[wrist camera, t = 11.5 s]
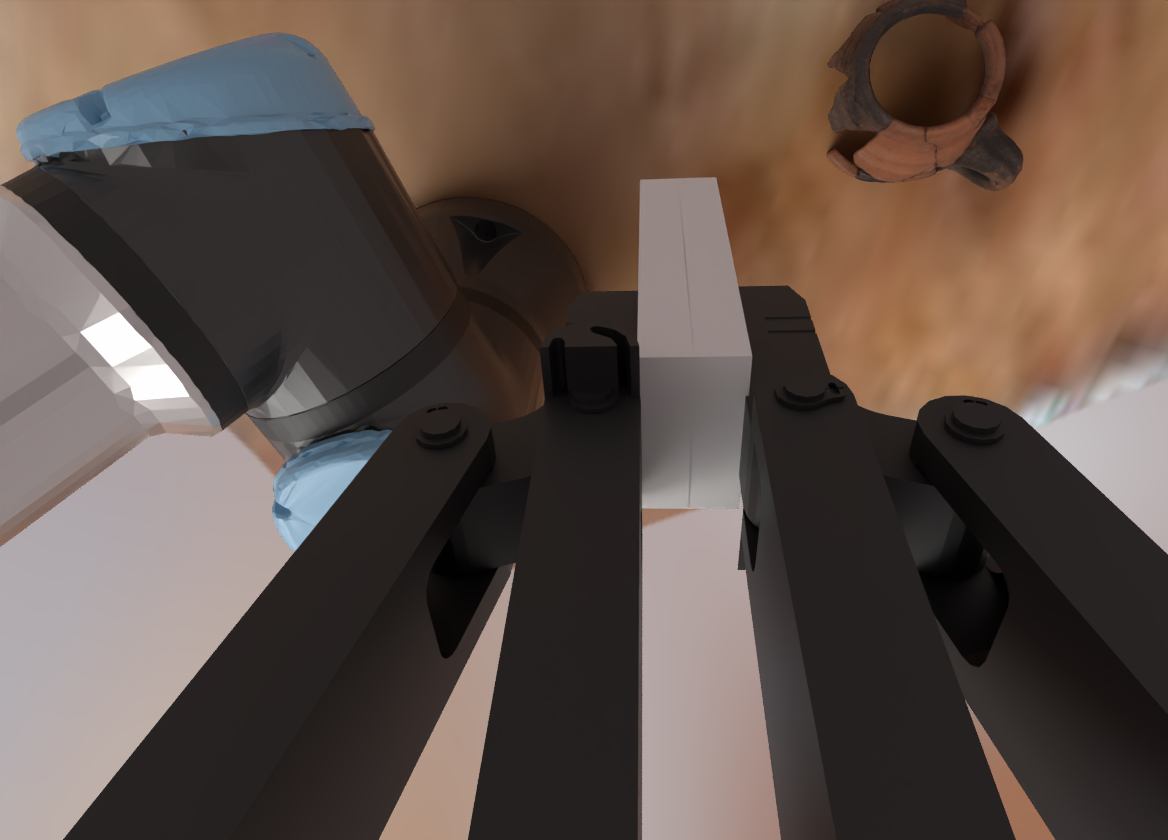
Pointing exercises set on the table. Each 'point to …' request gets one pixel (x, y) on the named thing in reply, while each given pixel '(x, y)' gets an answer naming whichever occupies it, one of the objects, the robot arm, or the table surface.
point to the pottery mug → (916, 149)
